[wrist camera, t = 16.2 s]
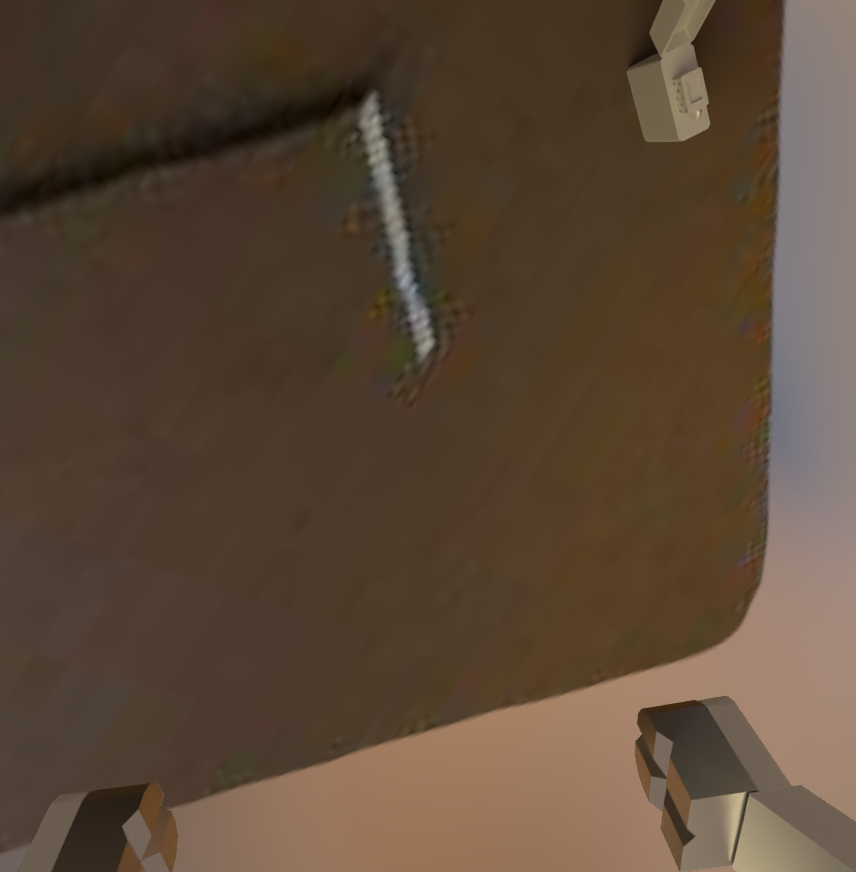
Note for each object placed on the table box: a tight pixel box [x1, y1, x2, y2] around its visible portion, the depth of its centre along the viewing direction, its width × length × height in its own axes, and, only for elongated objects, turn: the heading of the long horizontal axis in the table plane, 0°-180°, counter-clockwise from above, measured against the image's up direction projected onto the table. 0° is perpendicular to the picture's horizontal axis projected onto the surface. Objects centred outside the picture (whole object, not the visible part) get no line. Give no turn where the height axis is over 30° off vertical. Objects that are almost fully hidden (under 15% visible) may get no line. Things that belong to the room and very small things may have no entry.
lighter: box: [627, 0, 716, 142], centre depth 30 cm, size 7×2×8 cm, turn 25°
